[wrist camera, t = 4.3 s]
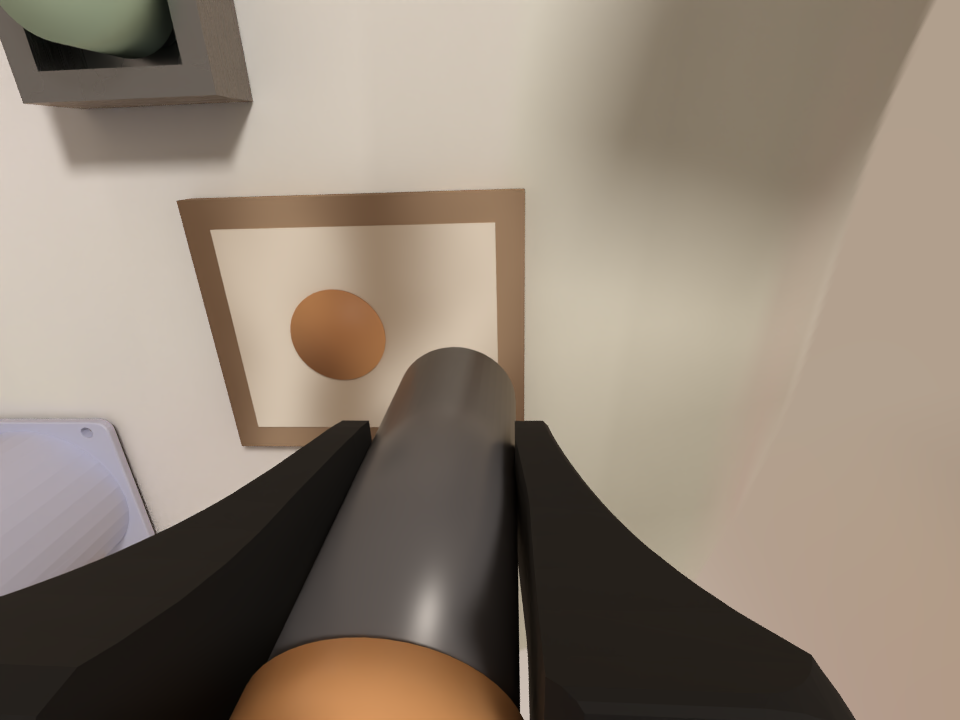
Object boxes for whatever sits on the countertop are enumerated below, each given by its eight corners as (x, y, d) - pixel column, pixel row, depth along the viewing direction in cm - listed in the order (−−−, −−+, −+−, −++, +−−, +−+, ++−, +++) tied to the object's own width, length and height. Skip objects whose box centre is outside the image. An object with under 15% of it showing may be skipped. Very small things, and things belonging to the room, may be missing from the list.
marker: (401, 453, 14) (223, 945, 5) (388, 343, 13) (125, 763, 4) (519, 454, 14) (531, 967, 5) (519, 342, 13) (534, 784, 4)
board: (251, 435, 22) (239, 448, 21) (190, 198, 18) (173, 201, 17) (523, 436, 21) (523, 449, 20) (524, 188, 17) (525, 190, 16)
